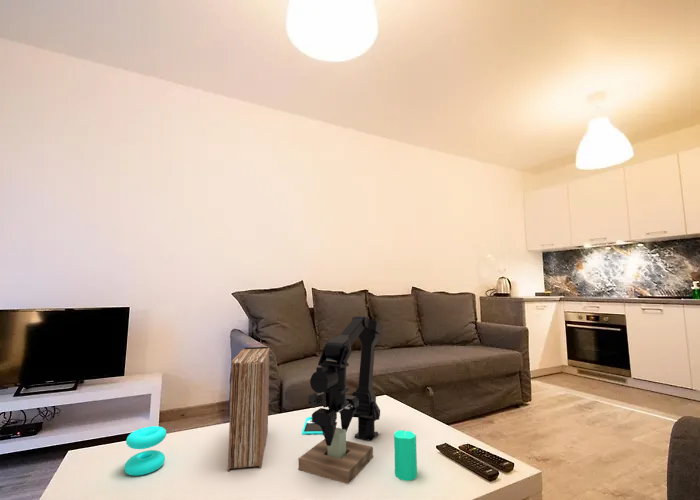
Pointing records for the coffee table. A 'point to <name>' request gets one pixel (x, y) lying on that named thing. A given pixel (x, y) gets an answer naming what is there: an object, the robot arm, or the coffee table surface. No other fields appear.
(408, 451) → the candle
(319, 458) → the walnut well block
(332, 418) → the robot arm
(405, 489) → the coffee table surface
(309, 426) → the handheld game console
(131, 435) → the donuts
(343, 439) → the sage peg
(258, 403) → the book
